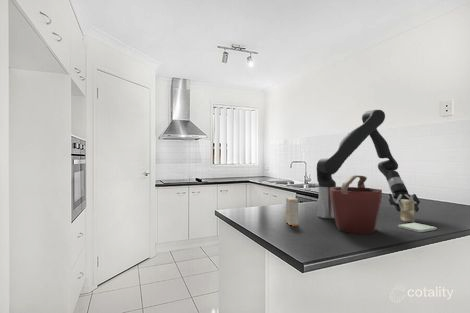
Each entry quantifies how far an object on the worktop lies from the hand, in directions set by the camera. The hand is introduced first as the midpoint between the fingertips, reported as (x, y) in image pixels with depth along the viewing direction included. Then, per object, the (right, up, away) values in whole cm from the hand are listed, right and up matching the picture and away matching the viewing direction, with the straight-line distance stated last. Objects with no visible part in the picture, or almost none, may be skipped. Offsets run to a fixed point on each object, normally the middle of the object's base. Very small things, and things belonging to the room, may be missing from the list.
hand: (408, 210), depth 136 cm
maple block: (0, -5, +1) cm, 6 cm away
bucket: (-34, -6, -15) cm, 38 cm away
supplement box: (-62, -6, -5) cm, 63 cm away
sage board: (-5, -5, -14) cm, 16 cm away
